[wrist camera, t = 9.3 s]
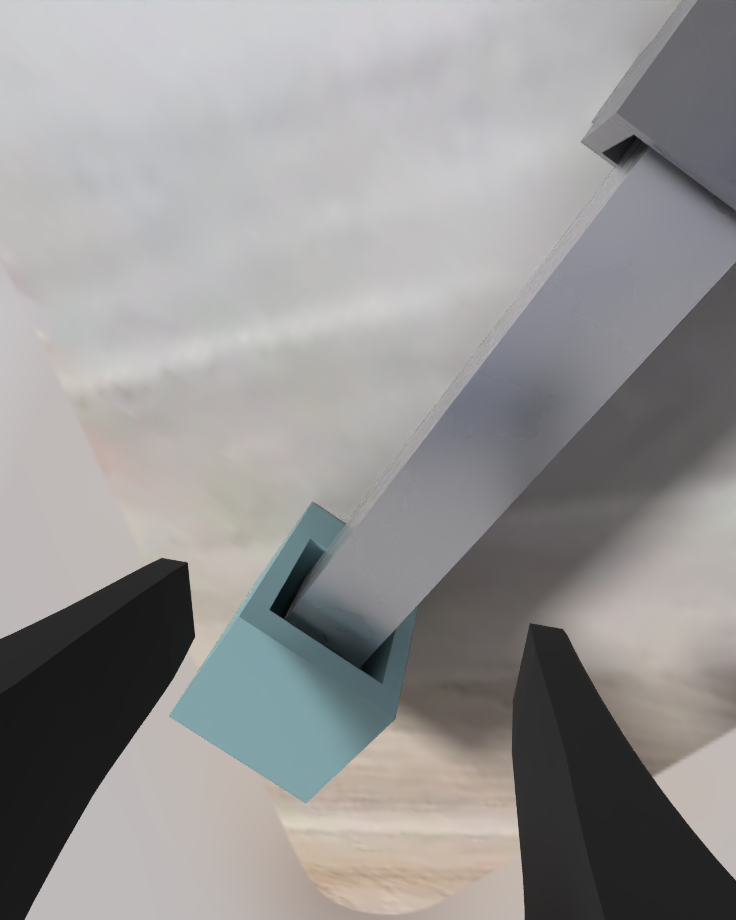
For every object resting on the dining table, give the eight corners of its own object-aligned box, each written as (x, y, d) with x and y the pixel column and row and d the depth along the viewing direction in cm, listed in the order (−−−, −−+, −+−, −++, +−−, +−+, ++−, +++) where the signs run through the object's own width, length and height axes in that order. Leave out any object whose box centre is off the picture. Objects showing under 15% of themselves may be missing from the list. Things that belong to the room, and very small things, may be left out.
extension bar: (780, 155, 12) (853, 140, 9) (359, 631, 19) (340, 691, 17) (679, 78, 12) (726, 43, 9) (294, 588, 19) (265, 642, 17)
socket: (423, 577, 21) (395, 718, 15) (354, 654, 23) (306, 803, 17) (312, 501, 21) (238, 616, 15) (252, 587, 23) (168, 716, 17)
